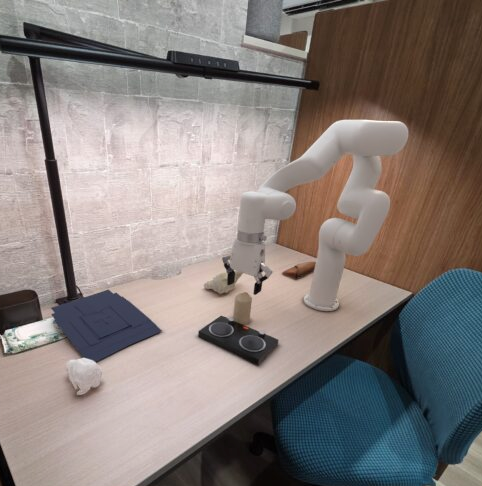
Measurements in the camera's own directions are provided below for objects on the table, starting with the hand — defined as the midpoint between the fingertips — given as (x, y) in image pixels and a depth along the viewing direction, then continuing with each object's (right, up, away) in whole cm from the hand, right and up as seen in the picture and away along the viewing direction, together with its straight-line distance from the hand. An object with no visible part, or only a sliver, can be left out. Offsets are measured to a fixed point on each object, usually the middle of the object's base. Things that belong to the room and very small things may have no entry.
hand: (243, 288), depth 101 cm
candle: (0, -11, +6) cm, 12 cm away
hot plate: (-2, -16, -5) cm, 17 cm away
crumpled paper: (-43, -25, -22) cm, 54 cm away
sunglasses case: (+31, +9, +44) cm, 55 cm away
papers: (-45, -12, 0) cm, 46 cm away
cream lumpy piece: (-4, +1, +26) cm, 27 cm away
